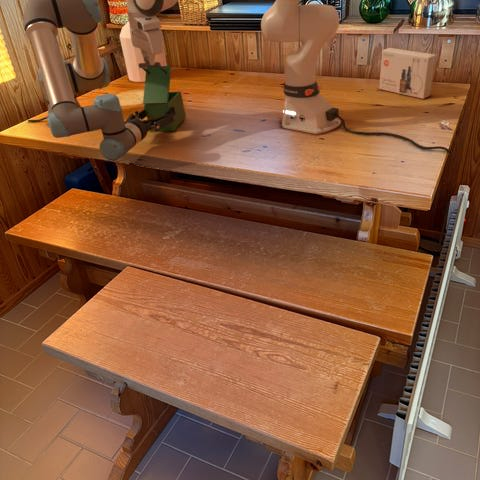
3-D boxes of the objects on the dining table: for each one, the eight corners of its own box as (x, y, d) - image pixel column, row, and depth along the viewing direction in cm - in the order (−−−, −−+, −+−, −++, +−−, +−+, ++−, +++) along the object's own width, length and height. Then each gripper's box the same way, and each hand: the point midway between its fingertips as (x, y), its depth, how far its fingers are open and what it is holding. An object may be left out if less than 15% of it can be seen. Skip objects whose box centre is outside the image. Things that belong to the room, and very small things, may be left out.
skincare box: (377, 89, 194) (381, 50, 185) (385, 86, 197) (389, 47, 188) (423, 99, 180) (429, 56, 171) (430, 95, 183) (437, 53, 174)
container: (160, 81, 233) (149, 21, 217) (121, 82, 238) (108, 23, 222) (174, 69, 249) (165, 13, 233) (138, 70, 254) (126, 15, 238)
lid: (147, 68, 172) (136, 57, 164) (171, 66, 169) (161, 56, 162) (144, 104, 171) (133, 95, 163) (168, 103, 168) (158, 95, 161)
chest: (163, 117, 187) (157, 92, 181) (186, 116, 184) (180, 91, 178) (150, 131, 177) (143, 105, 171) (173, 131, 174) (167, 104, 168)
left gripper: (106, 142, 162) (137, 119, 179) (164, 144, 156) (190, 120, 173) (101, 121, 158) (132, 100, 175) (160, 123, 151) (187, 101, 168)
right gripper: (122, 18, 161) (130, 60, 169) (145, 26, 147) (152, 70, 154) (139, 16, 164) (146, 56, 172) (163, 22, 149) (169, 66, 157)
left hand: (161, 110), depth 174 cm, fingers closed on chest, 10 cm apart
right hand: (149, 63), depth 163 cm, fingers closed on lid, 3 cm apart
